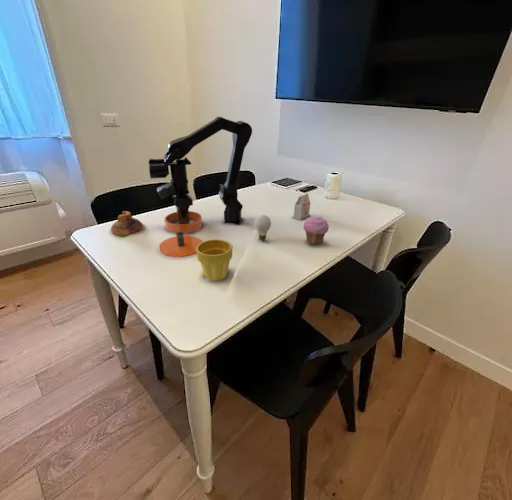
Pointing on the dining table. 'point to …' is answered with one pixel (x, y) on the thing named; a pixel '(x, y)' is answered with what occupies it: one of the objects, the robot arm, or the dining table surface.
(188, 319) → the dining table surface
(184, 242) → the lid
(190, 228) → the pot
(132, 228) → the bell
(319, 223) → the cupcake
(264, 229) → the light bulb
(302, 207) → the white milk carton
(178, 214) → the block
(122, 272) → the dining table surface
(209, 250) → the flower pot
